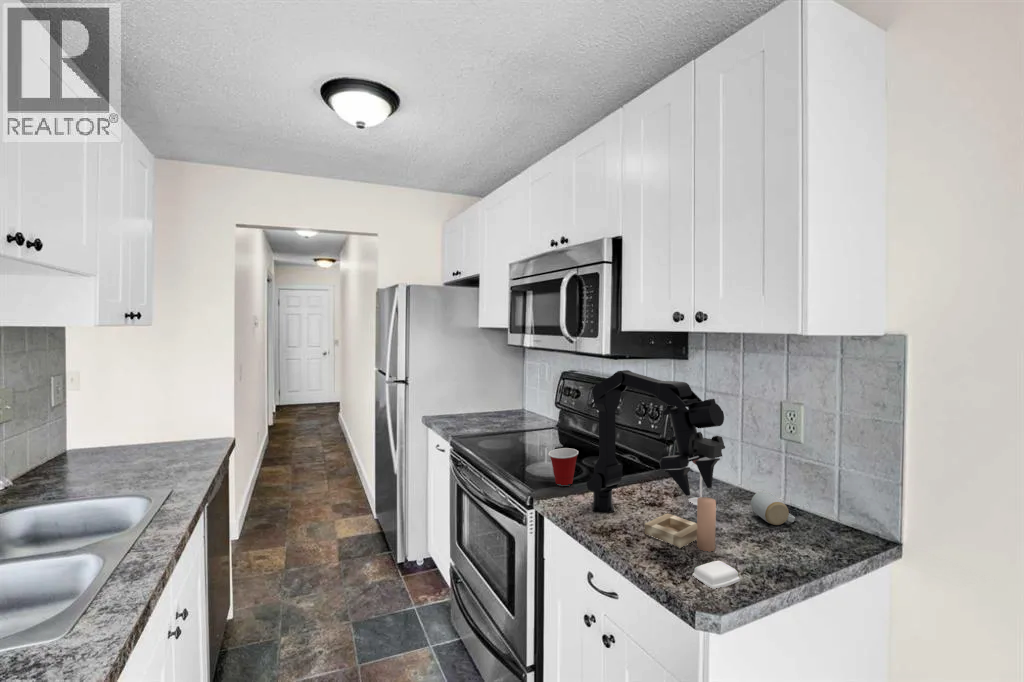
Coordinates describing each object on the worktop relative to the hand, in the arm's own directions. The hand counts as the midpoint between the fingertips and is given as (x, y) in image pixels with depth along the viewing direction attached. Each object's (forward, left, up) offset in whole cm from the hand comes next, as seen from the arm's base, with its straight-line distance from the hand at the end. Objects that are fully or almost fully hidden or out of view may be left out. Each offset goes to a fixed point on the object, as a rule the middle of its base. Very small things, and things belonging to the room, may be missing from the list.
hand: (699, 491), depth 123 cm
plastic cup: (-47, -34, -15) cm, 60 cm away
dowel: (-1, +2, -15) cm, 15 cm away
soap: (+13, 0, -16) cm, 21 cm away
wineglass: (-34, +10, -15) cm, 38 cm away
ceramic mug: (-21, +27, -15) cm, 38 cm away
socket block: (-8, -4, -15) cm, 18 cm away
